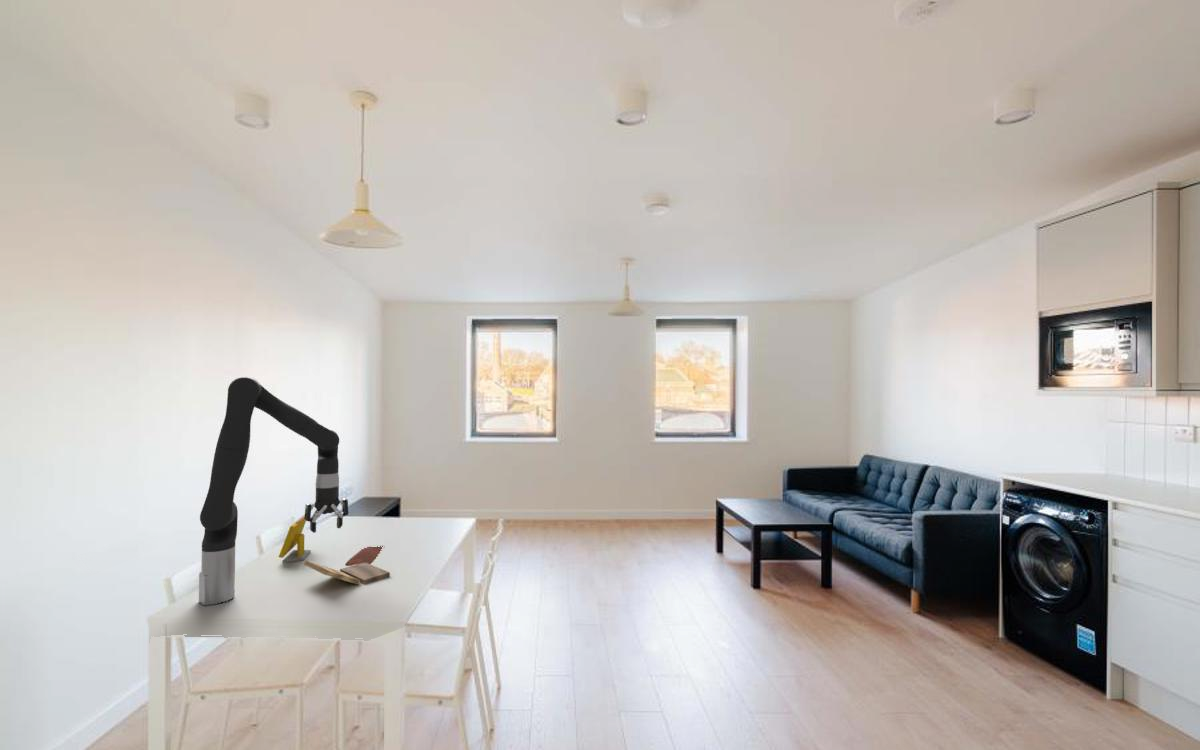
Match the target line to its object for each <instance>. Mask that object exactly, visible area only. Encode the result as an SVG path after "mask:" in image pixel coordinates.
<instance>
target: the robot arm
mask: <svg viewBox="0 0 1200 750" xmlns="http://www.w3.org/2000/svg"><path fill="white" fill-rule="evenodd" d="M228 385H229V386H228V388H227V398H226V399H227V400H226V408H225V409H226V410H225V416H224V420H223V423H222V426H221V428H220V431H219V432H220V433H219V434H218V435H219V436H218V438H217V442H216V447H215V450H214V453H213V454H214V456H213V462H212V467H211V473H210V474H211V475H210V482H209V487H208V492H207V494H206V497H205V500H204V502H203V506H202V508H201V511H200V514H199V521H200V524H201V525H202V527H203V529H204V535H203V539H202V541H201V564H200V565H201V566H200V567H201V570H200V572H199V574H198V602H199V603H200V602H201V603H200V604H201V605H203V606H204V605H206V606H210V605H211V606H212V605H217V604H218V603H219V604H222V603H221V602H223V603H226V602H229V601H231V600H233V599H234V598H235V595H236V594H235V593H236V592H235V591H236V589H235V588H236V587H235V585H236V583H235V581H236V541H237V540H236V539H237V534H238V517H239V515H238V507H237V505H236V503H235V502H234V498H235V492H236V488H237V485H238V482H239V481H240V478H241V476H242V473H243V471H244V468H245V465H246V463H247V459H248V456H249V455H248V454H249V450H250V442H251V424H252V423H251V420H252V416H253V412H254V409H255V408H256V409H258V410H260V411H261V412H264V413H265V414H267V415H269V416H270V417H272V418H273V419H274V420H276V421H277V422H278V423H280V424H281V425H283V426H284V427H286V428H288V430H291V431H292V432H294V433H296V434H297V435H298V436H300V437H303V438H304V439H306V440H308V441H309V442H311V443H312V444H314V445H315V446H317V462H316V463H317V464H316V479H315V501H314V503H306V504H305V507H304V509H305V510H304V515H305V518H304V519H305V520H306V522H309V529H310V531H311V533H313V534H314V533H316V532H317V522H316V521H317V520H318V519H319V518H320V517H321V516H322V515H327V514H333V513H334V514H335V515H336V516H337V517H336V528H337V529H342V528H341V527H343V518H344V517H346V516H348V515H349V499H347V498H342V499H339V496H340V495H339V493H340V491H339V490H340V477H339V464H340V463H339V456H338V454H339V445H340V437H339V435H338V433H337V432H336V431H334V430H332V429H329V428H328V427H325V426H324V425H322V424H320V423H319V422H318V421H317V420H315V419H314V418H312V417H310V416H309V415H308V414H306V413H304V412H303V411H301V410H299V409H297V408H295V407H293V406H291V405H290V404H288V403H286V402H285V401H282V400H281V399H280V398H278V397H276V396H275V395H274V394H272V393H271V392H269V391H268V390H267V389H266V388H265V387H264V386H263V385H262V384H261V383H260V382H259V381H258V380H257V379H255V378H254V377H253V378H252V377H251V376H250V377H249V376H242V377H241V376H240V377H238V378H236V379H234V380H232V381H231V382H230V384H228ZM339 505H341V507H342V509H341V510H342V511H341V510H339V509H338V507H339ZM314 508H315V511H314V512H313V514H312V510H313V509H314ZM233 597H234V598H233ZM232 598H233V599H232ZM230 599H231V600H230ZM228 600H229V601H228ZM225 601H226V602H225Z"/></svg>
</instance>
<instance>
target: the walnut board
mask: <svg viewBox="0 0 1200 750" xmlns="http://www.w3.org/2000/svg"><path fill="white" fill-rule="evenodd" d="M339 571H341V572H343V573H345V574H347V575H350V576H352V577H354V578H356V579H358V580H360V583H359V584H362V585H366V584H370V583H374V582H376V581H380V580H383V579H387V578H389V577H390V576H391V575H390V571H387V570H384V569H382V568H379V567H378V566H375V565H373V564H368V563H366V562H365V563H361V564H357V565H351V566H346V567H343V568H340V569H339Z"/></svg>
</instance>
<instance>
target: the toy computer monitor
mask: <svg viewBox="0 0 1200 750" xmlns="http://www.w3.org/2000/svg"><path fill="white" fill-rule="evenodd" d="M304 518H305V514H303V515H302V516H301V517H300V518H298V519H297V520H296V521H294V523H293V524H291V525H290V526H289V529H288V532H287V534H286V536H285V539H284V542H283V544H282V547H281V549H280V553H279V555H278V558H281V559H283V560H282V562H281V563H283V562H285V563H293V562H300V561H301V562H302V561H304V560H305V559H306V558H307V557H308V556H309V555H310V554H311V549H305V534H304V533H303V530H304V527H305V525H306V522H307V521H306V520H305V519H304ZM296 546H297V547H296ZM294 547H296V549H294ZM291 550H292V551H291ZM284 557H285V558H284ZM292 561H293V562H292Z"/></svg>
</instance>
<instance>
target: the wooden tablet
mask: <svg viewBox="0 0 1200 750" xmlns="http://www.w3.org/2000/svg"><path fill="white" fill-rule="evenodd" d="M376 546H377V547H371V546H366V547H367V548H365V547H364V549H363V548H361V549H360V550H361V551H360V550H359V551H358V552H356V553H355V554H354V555H353V556H352V557H350V558H349V559H348V560H347V561H346V562H345V566H346V567H350V566H354V565H357V564H361V563H365V562H366V563H368V564H370V565H372V563H373V562H374V561H375V560H376V559H377V558H378V556H379V555H380V554H381V552H382V550H381V549H382V547H383V546H384V545H376ZM378 546H380V547H378ZM381 546H382V547H381ZM380 551H381V552H380ZM378 554H379V555H378ZM376 557H377V558H376Z"/></svg>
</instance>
